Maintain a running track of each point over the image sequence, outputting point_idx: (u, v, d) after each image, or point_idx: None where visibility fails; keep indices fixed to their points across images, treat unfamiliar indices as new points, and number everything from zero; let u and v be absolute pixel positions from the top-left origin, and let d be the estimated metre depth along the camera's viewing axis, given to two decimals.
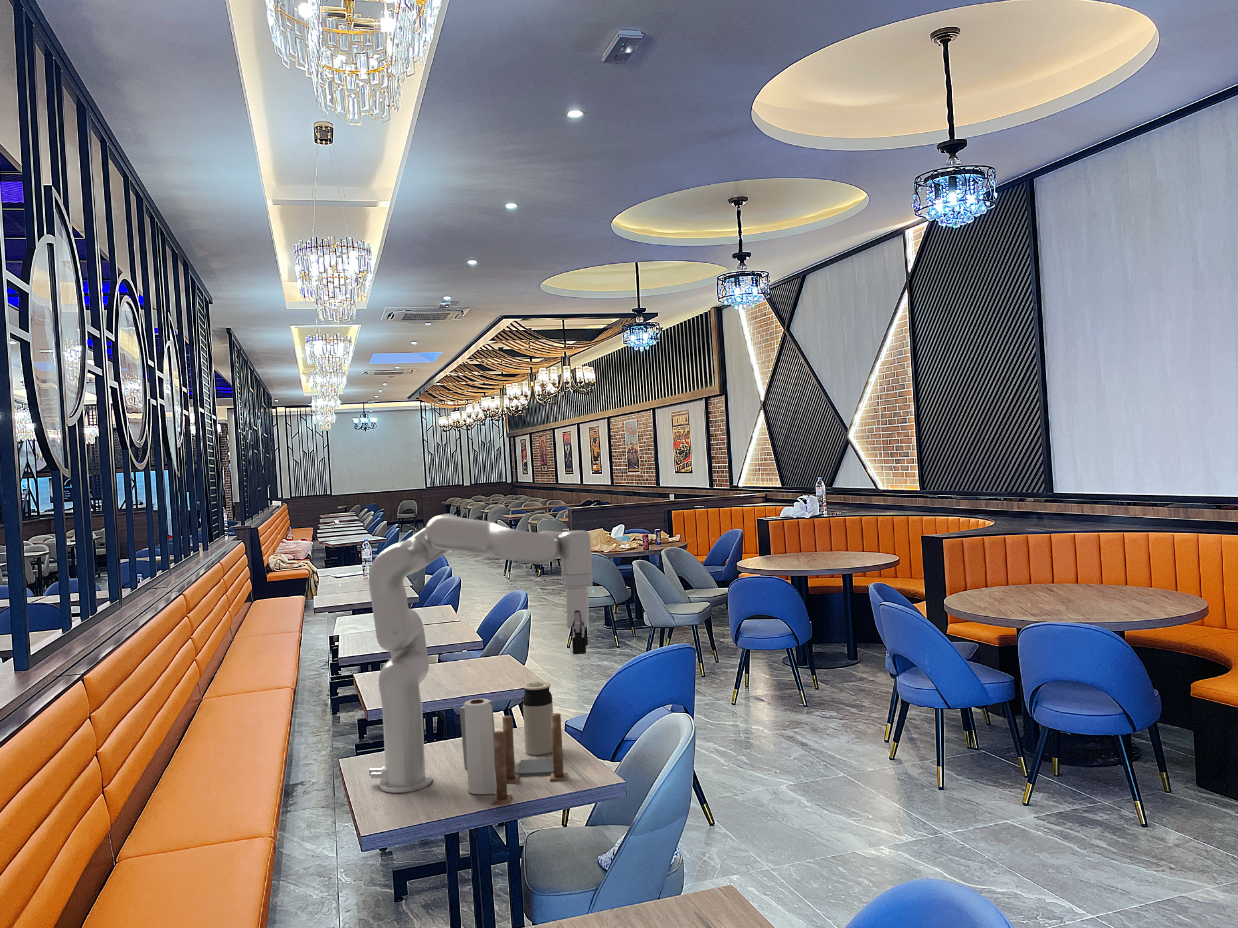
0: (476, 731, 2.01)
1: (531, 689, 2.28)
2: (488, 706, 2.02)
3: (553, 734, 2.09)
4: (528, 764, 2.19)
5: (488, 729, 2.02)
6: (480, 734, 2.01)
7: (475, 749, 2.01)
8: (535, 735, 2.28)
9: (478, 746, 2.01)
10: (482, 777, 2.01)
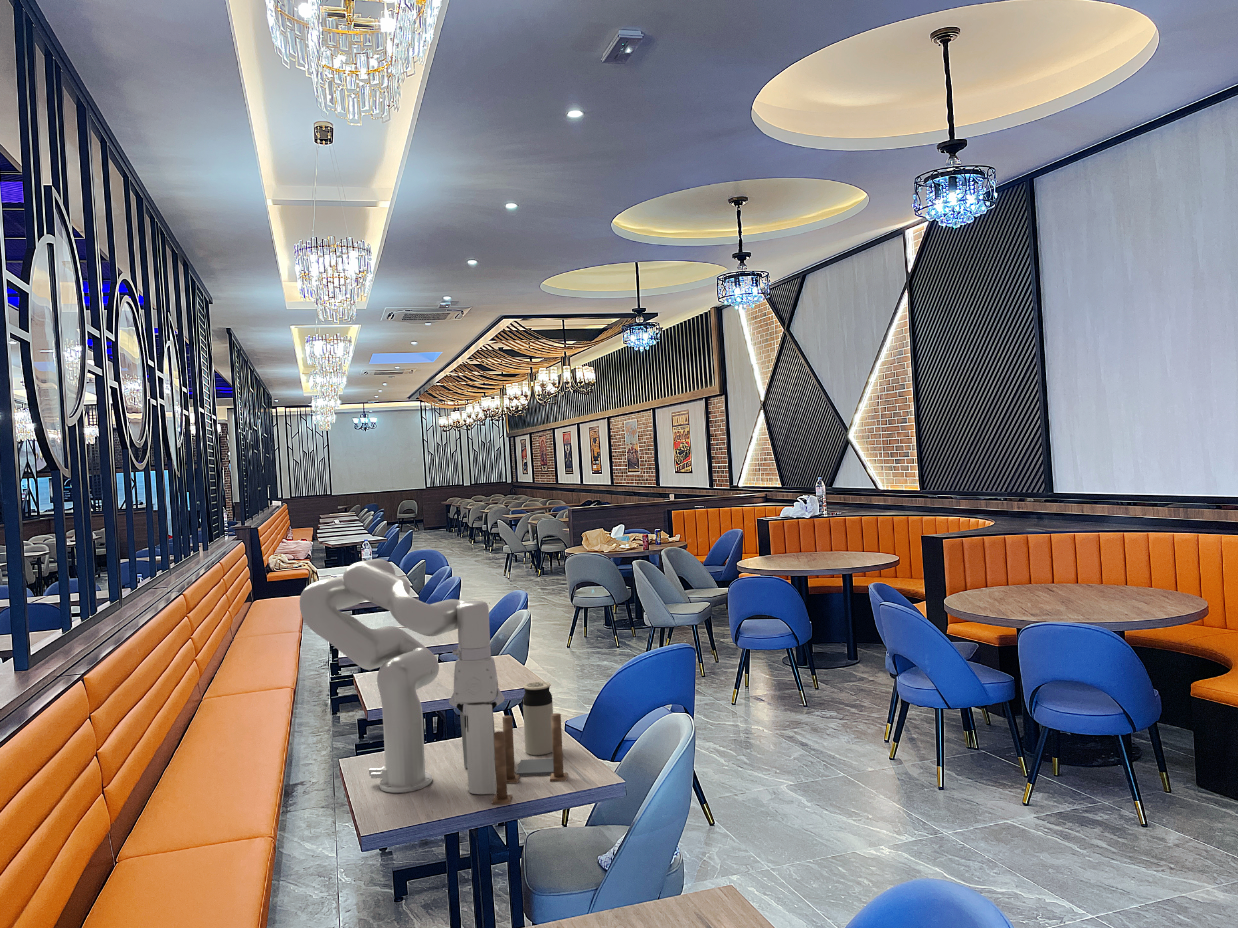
0: (476, 731, 2.01)
1: (531, 689, 2.28)
2: (488, 706, 2.02)
3: (553, 734, 2.09)
4: (528, 764, 2.19)
5: (488, 729, 2.02)
6: (481, 733, 2.01)
7: (475, 749, 2.01)
8: (535, 735, 2.28)
9: (478, 746, 2.01)
10: (482, 777, 2.01)
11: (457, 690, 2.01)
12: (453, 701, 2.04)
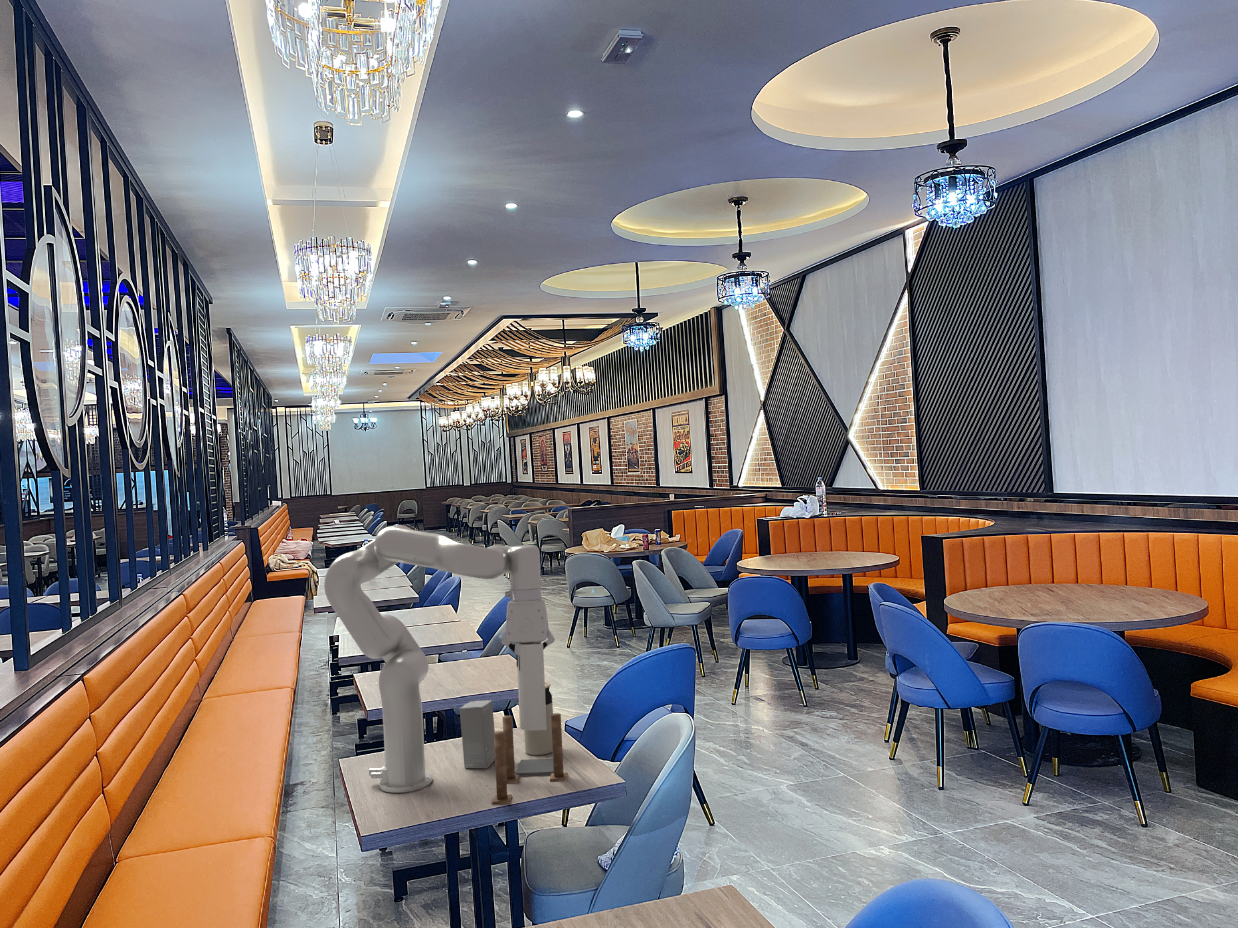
0: (528, 669, 2.09)
1: None
2: (539, 645, 2.09)
3: (553, 734, 2.09)
4: (528, 764, 2.19)
5: (539, 668, 2.09)
6: (532, 672, 2.08)
7: (527, 687, 2.09)
8: (535, 735, 2.28)
9: (530, 684, 2.08)
10: (533, 714, 2.08)
11: (509, 630, 2.09)
12: (505, 641, 2.11)
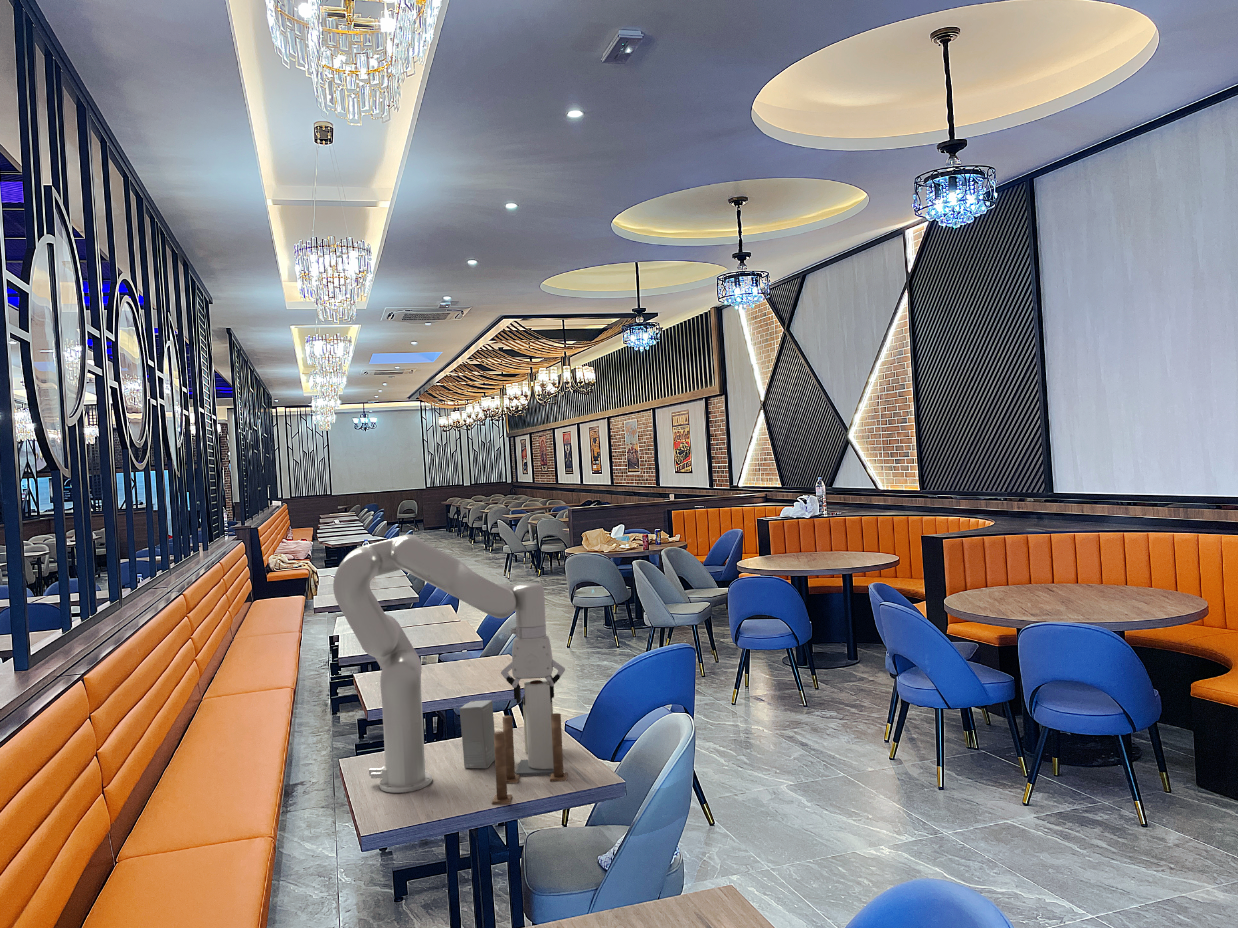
0: (535, 710, 2.15)
1: None
2: (546, 686, 2.14)
3: (553, 734, 2.09)
4: (528, 764, 2.19)
5: (546, 708, 2.14)
6: (539, 712, 2.14)
7: (534, 726, 2.15)
8: None
9: (537, 724, 2.14)
10: (541, 753, 2.14)
11: (515, 666, 2.15)
12: (505, 673, 2.17)
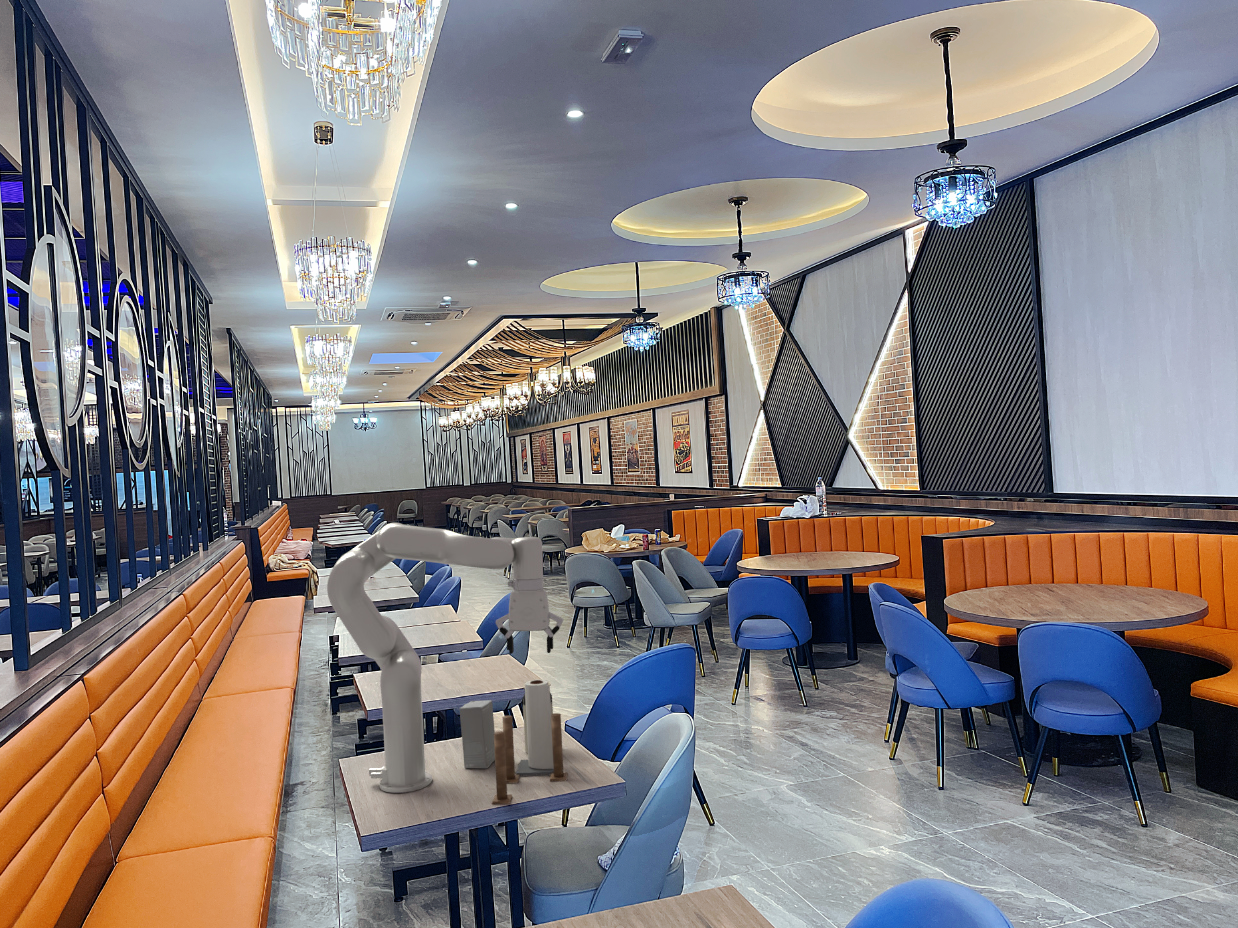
0: (535, 710, 2.15)
1: None
2: (546, 686, 2.14)
3: (553, 734, 2.09)
4: (528, 764, 2.19)
5: (546, 708, 2.14)
6: (539, 712, 2.14)
7: (534, 726, 2.15)
8: None
9: (537, 724, 2.14)
10: (541, 753, 2.14)
11: (512, 619, 2.15)
12: (499, 623, 2.17)
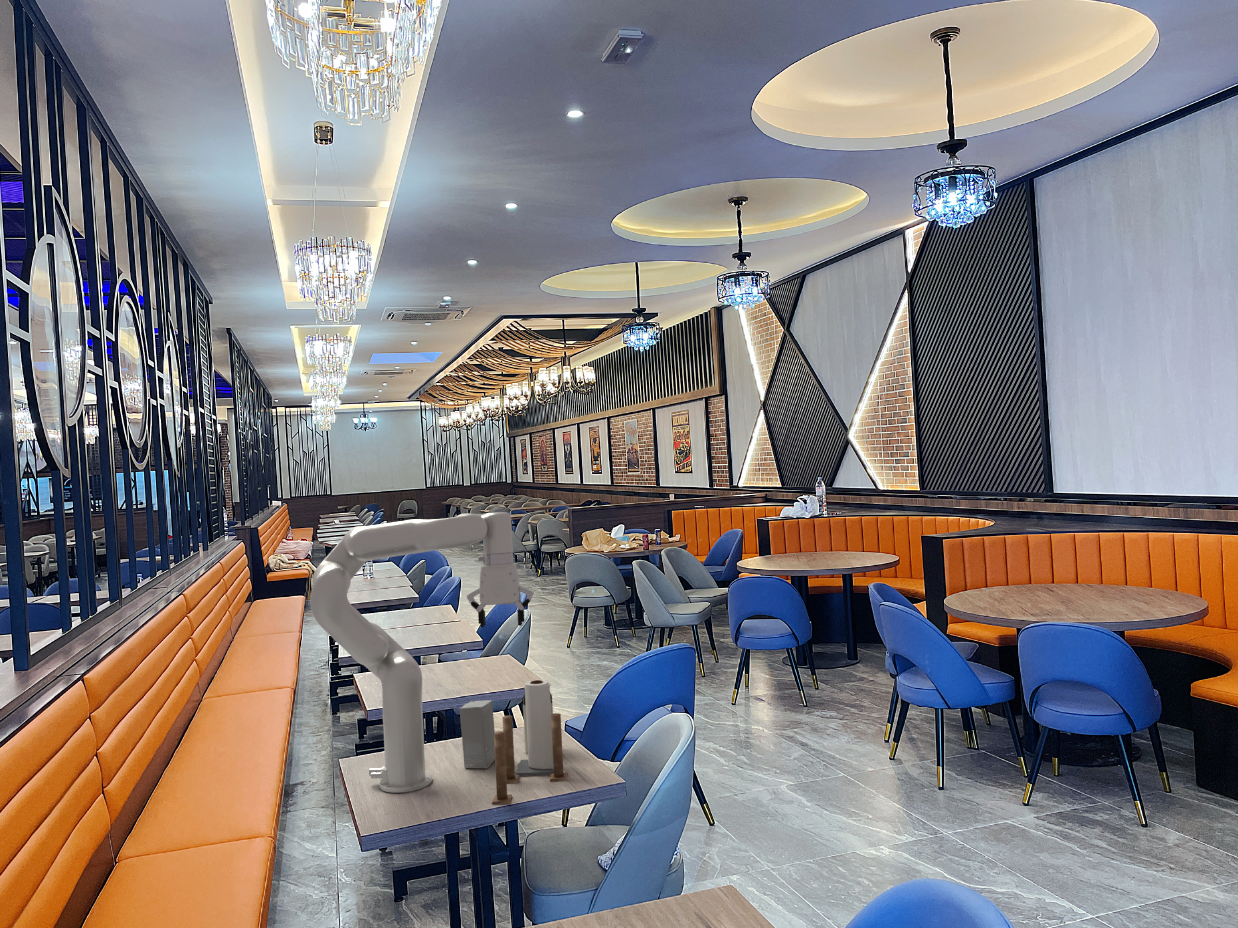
0: (535, 710, 2.15)
1: None
2: (546, 686, 2.14)
3: (553, 734, 2.09)
4: (528, 764, 2.19)
5: (546, 708, 2.14)
6: (539, 712, 2.14)
7: (534, 726, 2.15)
8: None
9: (537, 724, 2.14)
10: (541, 753, 2.14)
11: (483, 592, 2.19)
12: (471, 597, 2.21)
